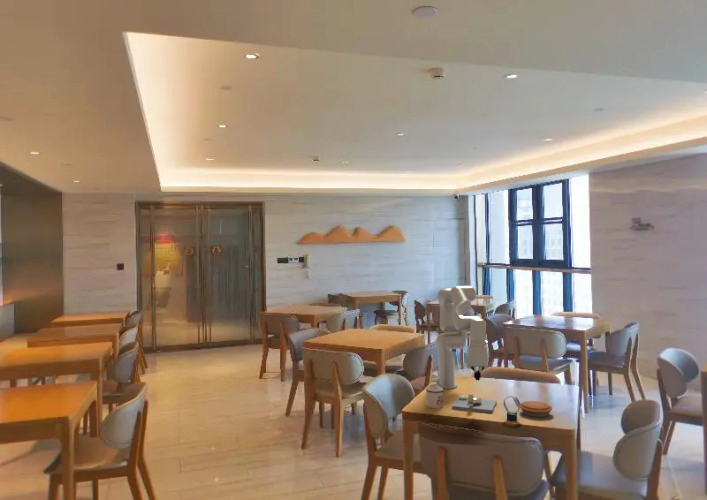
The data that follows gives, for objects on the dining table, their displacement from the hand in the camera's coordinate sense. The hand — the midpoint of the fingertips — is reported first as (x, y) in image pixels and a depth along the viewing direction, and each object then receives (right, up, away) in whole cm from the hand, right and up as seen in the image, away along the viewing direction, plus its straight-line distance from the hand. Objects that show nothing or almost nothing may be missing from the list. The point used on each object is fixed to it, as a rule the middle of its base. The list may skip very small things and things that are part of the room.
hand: (477, 379), depth 265 cm
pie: (+27, -16, -5) cm, 32 cm away
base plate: (0, -16, +8) cm, 17 cm away
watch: (+13, -16, -14) cm, 25 cm away
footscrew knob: (-1, -14, +5) cm, 15 cm away
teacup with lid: (-20, -16, +9) cm, 27 cm away
